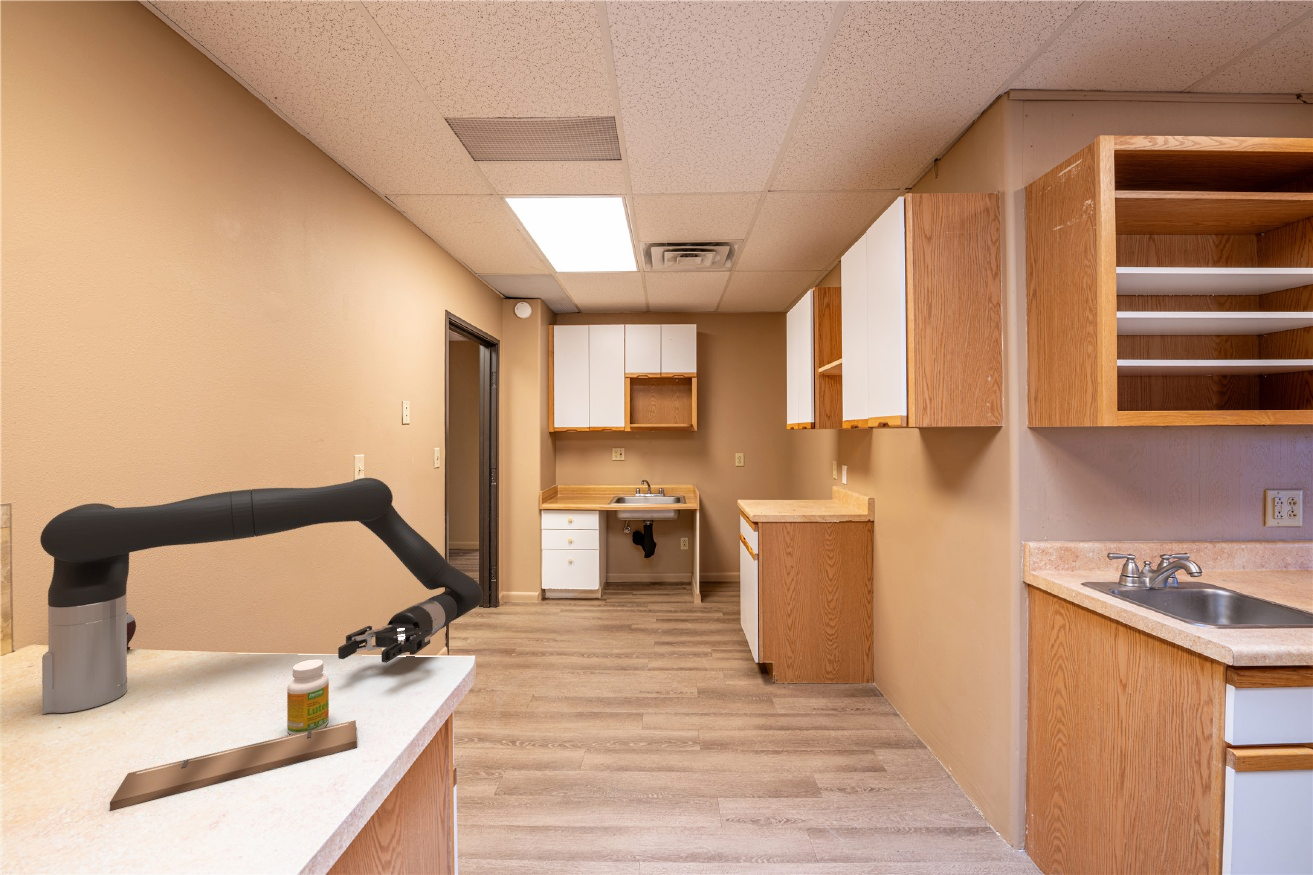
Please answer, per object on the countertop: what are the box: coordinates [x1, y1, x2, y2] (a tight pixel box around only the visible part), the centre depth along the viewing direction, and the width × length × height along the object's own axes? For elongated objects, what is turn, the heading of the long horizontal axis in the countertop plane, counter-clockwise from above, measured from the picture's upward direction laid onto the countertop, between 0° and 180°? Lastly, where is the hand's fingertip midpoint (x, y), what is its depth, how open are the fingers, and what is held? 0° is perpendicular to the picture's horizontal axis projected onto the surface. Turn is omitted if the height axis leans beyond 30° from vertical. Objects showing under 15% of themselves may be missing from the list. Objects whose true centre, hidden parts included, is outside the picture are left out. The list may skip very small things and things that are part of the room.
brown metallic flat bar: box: [109, 719, 358, 811], centre depth 74 cm, size 26×6×1 cm, turn 120°
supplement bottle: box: [286, 659, 330, 735], centre depth 84 cm, size 5×5×10 cm
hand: (361, 655), depth 95 cm, fingers open, 8 cm apart
